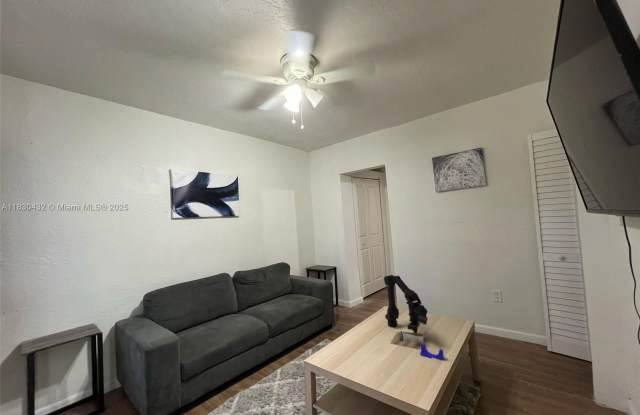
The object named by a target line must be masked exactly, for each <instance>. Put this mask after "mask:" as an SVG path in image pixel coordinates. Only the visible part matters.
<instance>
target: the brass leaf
mask: <svg viewBox="0 0 640 415" xmlns="http://www.w3.org/2000/svg"><path fill="white" fill-rule="evenodd" d="M402 332H403V333H405V334H411V335H417V336H422V337H423V341H424V337H425V336H424V333H423V332H417V333H415V332H414V331H402Z"/></svg>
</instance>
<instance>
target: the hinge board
mask: <svg viewBox="0 0 640 415" xmlns="http://www.w3.org/2000/svg"><path fill="white" fill-rule="evenodd" d="M423 337H424V344H425V347H426V348H427V347H428V342H429V339H430V337H427V336H423ZM389 344H391V345H395V346H400V347H405V348H410V349H416V350H419V351H421V345H420V344H415V343H410V342H405V341H400V333H399V331H398V332H396V333H395V335H394V337H393V338H392V339H391V341H390V342H389Z"/></svg>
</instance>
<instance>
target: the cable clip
mask: <svg viewBox="0 0 640 415" xmlns="http://www.w3.org/2000/svg"><path fill="white" fill-rule="evenodd" d="M419 355H420V356H423V357H425V358H427V359H436V360H441V361H444V358H445V356H444V349H442V348H440V349H439V350H438V353H437V354H435V353H434V354H433V353H431V352H430V351H429V350H428V349H427V346H426V347H425V344H422V345H421V350H420V353H419Z"/></svg>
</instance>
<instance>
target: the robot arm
mask: <svg viewBox="0 0 640 415" xmlns="http://www.w3.org/2000/svg"><path fill="white" fill-rule="evenodd" d="M383 282H384V284H385V286H386V289H387V298H388V307H387V310H386V314H385V316H384V318H385V320H387V327H389V328H398V325H399V324H398V319H399V316H400V310H399V308H398V307H397V305H396V297H395V286H397V287H398V288H399V289H400V290H401V292H402V293H403V295H404V298H405V300H406V305H408V307H407V308H408V316H409V320H408V321H409V323H407V326H406V327H407V330H409V331H412V332H415V333H418V329H419V327H420V326H421V324H423V325H425V326H426V325H427V323H428V319H429V318H428V316H427V315H428V309H427V308H426V307H425V305H424V304H422V301H421V299H420V297H419V295H418V293H417V292H415V290H413V289H411V288H409V286H408V285H407V284H406V283H405V282H404V281H403V280H402V278H401V277H400V275H393V274H390V275H385V276H384V277H383Z"/></svg>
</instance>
